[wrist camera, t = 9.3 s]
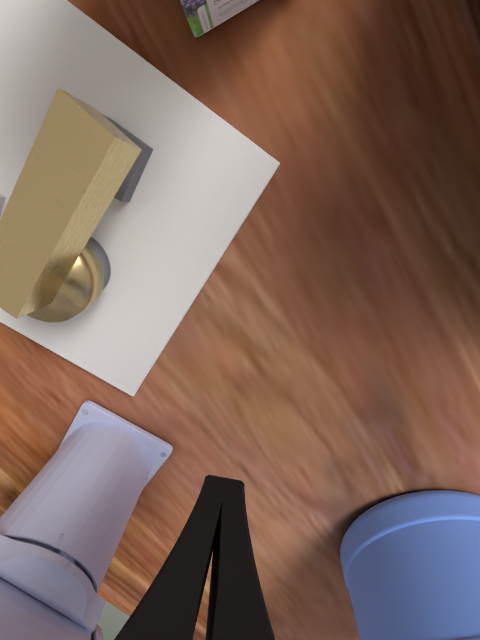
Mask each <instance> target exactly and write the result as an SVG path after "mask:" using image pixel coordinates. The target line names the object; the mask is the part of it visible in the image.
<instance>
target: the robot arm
mask: <svg viewBox="0 0 480 640" xmlns="http://www.w3.org/2000/svg"><path fill="white" fill-rule="evenodd" d="M172 450H173V447H172V445H170V444H169V443H167V442H165V441H163V440H161V439H160V438H158V437H156V436H154V435H152V434H150V433H149V432H147V431H145V430H143V429H141V428H140V427H138V426H136V425H134V424H132V423H130V422H129V421H127V420H125V419H123V418H121V417H119V416H118V415H116V414H114V413H112V412H110V411H109V410H107V409H105V408H103V407H101V406H99V405H98V404H96V403H94V402H92V401H85V402H84V403H83V404H82V405H81V407H80V409H79V411H78V413H77V415H76V417H75V418H74V420H73V422H72V424H71V426H70V428H69V430H68V431H67V433H66V435H65V437H64V439H63V441H62V443H61V444H60V446H59V448H58V450H57V452H56V453H55V454H54V455H53V457H52V458H51V459H50V460H49V461H48V462H47V464H46V465H45V466H44V467H43V468H42V469H41V471H40V472H39V473H38V474H37V475H36V476H35V478H34V479H33V480H32V481H31V482H30V483H29V485H28V486H27V487H26V488H25V489H24V490H23V492H22V493H21V494H20V495H19V496H18V497H17V499H16V500H15V501H14V502H13V503H12V505H11V506H10V507H9V508H8V509H7V510H6V512H5V513H4V514H3V515H2V516H1V517H0V640H103V633H102V630H101V628H100V627H99V626H98V624H97V622H98V619H99V617H100V615H101V612H102V610H103V607H104V605H105V600H103V599H102V598H101V597H100V596H99V595H98V594H97V593H98V590H99V588H100V586H101V584H102V581H103V579H104V577H105V574H106V572H107V570H108V568H109V565H110V563H111V561H112V558H113V556H114V554H115V552H116V549H117V547H118V545H119V542H120V540H121V538H122V535H123V533H124V531H125V529H126V526H127V524H128V522H129V519H130V517H131V515H132V513H133V510H134V508H135V506H136V503H137V501H138V499H139V497H140V494H141V492H142V490H143V488H144V487H145V486H146V484H147V483H148V482H149V481H150V479H151V478H152V477H153V476H154V474H155V473H156V472H157V471H158V469H159V468H160V467H161V466H162V464H163V463H164V462H165V461H166V459H167V458H168V457H169V456H170V454H171V453H172ZM212 552H213V559H212V570H211V582H210V594H209V606H208V618H207V630H206V640H275V638H274V634H273V631H272V627H271V624H270V620H269V617H268V613H267V609H266V606H265V602H264V598H263V594H262V590H261V586H260V582H259V577H258V573H257V569H256V564H255V560H254V555H253V549H252V544H251V539H250V534H249V528H248V521H247V514H246V505H245V492H244V483H243V482H242V481H240V480H234V479H229V478H223V477H218V476H213V475H208V476H206V477H205V481H204V484H203V487H202V490H201V492H200V495H199V497H198V499H197V502H196V504H195V506H194V508H193V510H192V513H191V515H190V517H189V519H188V521H187V523H186V525H185V526H184V528H183V530H182V532H181V534H180V536H179V538H178V540H177V542H176V544H175V545H174V547H173V549H172V550H171V552H170V554H169V556H168V557H167V559H166V561H165V563H164V564H163V566H162V568H161V569H160V571H159V573H158V574H157V576H156V578H155V579H154V581H153V582H152V584H151V586H150V587H149V589H148V590H147V592H146V593H145V595H144V597H143V598H142V600H141V601H140V603H139V604H138V606H137V607H136V609H135V610H134V612H133V613H132V615H131V616H130V618H129V619H128V620H127V622H126V624H125V625H124V626H123V628H122V629H121V631H120V632H119V634H118V635H117V636H116V638H115V639H114V640H192V639H193V634H194V630H195V625H196V621H197V617H198V612H199V608H200V604H201V599H202V595H203V591H204V586H205V582H206V578H207V573H208V569H209V565H210V560H211V556H212Z"/></svg>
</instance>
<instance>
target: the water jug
mask: <svg viewBox="0 0 480 640" xmlns="http://www.w3.org/2000/svg"><path fill="white" fill-rule="evenodd" d="M340 560H341V566H342V573H343V577H344V581H345V584H346V587H347V589H348V592H349V593H350V598H351V602H352V607H353V612H354V616H355V621H356V626H357V630H358V635H359V640H480V495H477V494H473V493H468V492H461V491H452V490H429V491H420V492H413V493H408V494H404V495H400V496H397V497H393V498H391V499H388V500H385V501H383V502H381V503H379V504H377V505H375V506H373V507H371V508H370V509H368V510H367V511H365V512H364V513H362V514H361V515H360V516H359V517H358V518H357V519H356V520H355V521H354V522H353V523H352V524H351V525H350V527H349V528H348V530H347V531H346V533H345V535H344V537H343V540H342V544H341V549H340Z"/></svg>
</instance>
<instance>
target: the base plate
mask: <svg viewBox="0 0 480 640" xmlns="http://www.w3.org/2000/svg"><path fill="white" fill-rule="evenodd" d="M58 87H59V88H61V89H62V90H64V91H66V92H68V93H69V94H71V95H73V96H75V97H76V98H78V99H80V100H82V101H83V102H85V103H87V104H89V105H90V106H92V107H94V108H96V109H97V110H98V111H99V112H100V113H101V114H103V115H104V116H105V117H106V118H107V119H108V120H109V121H110V122H111V123H113V124H114V125H115V126H116V127H117V128H118V129H119V130H120V131H122V132H123V133H124V134H125V135H126V136H127V137H128V138H129V139H130V140H132V141H133V142H134V143H135V144H136V145H137V146H138V147H139V148H140V149H142V150H141V152H140V154H139V155H138V157H137V159H136V160H135V162H134V164H133V166H132V167H131V169H130V171H129V172H128V174H127V176H126V177H125V179H124V181H123V182H122V184H121V186H120V188H119V189H118V191H117V193H116V194H115V196H114V198H113V199H112V201H111V203H110V205H109V206H108V208H107V210H106V211H105V213H104V215H103V216H102V218H101V220H100V221H99V223H98V225H97V227H96V228H95V230H94V232H93V233H92V235H91V237H90V238H89V240H88V243H89V244H90V245H91V247H92V248H93V249H94V251H95V253H96V254H97V256H98V258H99V260H100V263H101V266H102V270H103V276H104V284H103V290H102V293H101V295H100V297H99V299H98V300H97V302H96V303H95V304H94V305H93V306H91V307H90V308H88V309H87V310H85V311H83V312H81V313H80V314H78V315H76V316H74V317H73V318H71V319H69V320H66V321H63V322H56V323H53V322H44V321H40V320H37V319H34V318H32V317H30V316H28V315H24V316H22V317H20V318H18V319H16V318H14V317H13V316H11V315H10V314H8V313H7V312H5V311H4V310H3V309H1V308H0V322H1V323H3V324H5V325H7V326H8V327H10V328H12V329H14V330H16V331H17V332H19V333H21V334H23V335H24V336H26V337H28V338H30V339H31V340H33V341H35V342H37V343H39V344H40V345H42V346H44V347H46V348H47V349H49V350H51V351H53V352H55V353H56V354H58V355H60V356H62V357H63V358H65V359H67V360H69V361H70V362H72V363H74V364H76V365H78V366H79V367H81V368H83V369H85V370H86V371H88V372H90V373H92V374H93V375H95V376H97V377H99V378H101V379H102V380H104V381H106V382H108V383H109V384H111V385H113V386H115V387H117V388H118V389H120V390H122V391H124V392H125V393H127V394H129V395H131V396H132V397H133V396H134V395H135V393H136V392H137V391H138V389H139V387H140V386H141V384H142V383H143V381H144V379H145V378H146V376H147V375H148V373H149V372H150V370H151V368H152V367H153V365H154V364H155V362H156V360H157V359H158V357H159V356H160V354H161V353H162V351H163V349H164V348H165V346H166V345H167V343H168V341H169V340H170V338H171V337H172V335H173V334H174V332H175V330H176V329H177V327H178V326H179V324H180V322H181V321H182V319H183V318H184V316H185V314H186V313H187V311H188V310H189V308H190V307H191V305H192V303H193V302H194V300H195V299H196V297H197V295H198V294H199V292H200V291H201V289H202V288H203V286H204V284H205V283H206V281H207V280H208V278H209V276H210V275H211V273H212V272H213V270H214V268H215V267H216V265H217V264H218V262H219V261H220V259H221V257H222V256H223V254H224V253H225V251H226V249H227V248H228V246H229V245H230V243H231V242H232V240H233V238H234V237H235V235H236V234H237V232H238V230H239V229H240V227H241V226H242V224H243V222H244V221H245V219H246V218H247V216H248V215H249V213H250V211H251V210H252V208H253V207H254V205H255V203H256V202H257V200H258V199H259V197H260V196H261V194H262V192H263V191H264V189H265V188H266V186H267V184H268V183H269V181H270V180H271V178H272V177H273V175H274V173H275V172H276V170H277V169H278V167H279V165H280V163H279V162H278V161H277V160H276V159H274V158H273V157H272V156H270V155H269V154H268V153H266V152H265V151H264V150H262V149H261V148H260V147H259V146H257V145H256V144H255V143H253V142H252V141H251V140H249V139H248V138H247V137H245V136H244V135H243V134H241V133H240V132H239V131H238V130H236V129H235V128H234V127H232V126H231V125H230V124H228V123H227V122H226V121H224V120H223V119H222V118H221V117H219V116H218V115H217V114H215V113H214V112H213V111H211V110H210V109H209V108H207V107H206V106H205V105H204V104H202V103H201V102H200V101H198V100H197V99H196V98H194V97H193V96H192V95H190V94H189V93H188V92H186V91H185V90H184V89H183V88H181V87H180V86H179V85H177V84H176V83H175V82H173V81H172V80H171V79H169V78H168V77H167V76H166V75H164V74H163V73H162V72H160V71H159V70H158V69H156V68H155V67H154V66H152V65H151V64H150V63H149V62H147V61H146V60H145V59H143V58H142V57H141V56H139V55H138V54H137V53H135V52H134V51H133V50H132V49H130V48H129V47H128V46H126V45H125V44H124V43H122V42H121V41H120V40H118V39H117V38H116V37H114V36H113V35H112V34H111V33H109V32H108V31H107V30H105V29H104V28H103V27H101V26H100V25H99V24H97V23H96V22H95V21H94V20H92V19H91V18H90V17H88V16H87V15H86V14H84V13H83V12H82V11H80V10H79V9H78V8H77V7H75V6H74V5H73V4H71V3H70V2H69V1H67V0H0V219H1V217H2V214H3V212H4V210H5V207H6V205H7V203H8V201H9V198H10V196H11V194H12V191H13V189H14V187H15V185H16V182H17V180H18V178H19V175H20V173H21V171H22V168H23V166H24V164H25V162H26V159H27V157H28V155H29V152H30V150H31V148H32V146H33V143H34V141H35V139H36V136H37V134H38V132H39V130H40V127H41V125H42V123H43V120H44V118H45V116H46V114H47V111H48V109H49V107H50V104H51V102H52V100H53V98H54V95H55V93H56V91H57V88H58Z"/></svg>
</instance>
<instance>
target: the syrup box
mask: <svg viewBox="0 0 480 640" xmlns="http://www.w3.org/2000/svg"><path fill="white" fill-rule="evenodd" d="M257 1H259V0H180V3H181V5H182V8H183V10H184V13H185V15H186V18H187V20H188V23H189V25H190V28H191V31H192V33H193V36H194V37H199V36H201V35H203V34H204V33H206V32H208V31H210V30H211V29H213V28H215V27H216V26H218V25H220V24H221V23H223V22H225V21H226V20H228V19H229V18H231V17H233V16H234V15H236V14H238V13H239V12H241V11H243V10H245V9H246V8H248V7H249V6H251V5H253V4H254V3H256V2H257Z"/></svg>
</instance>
